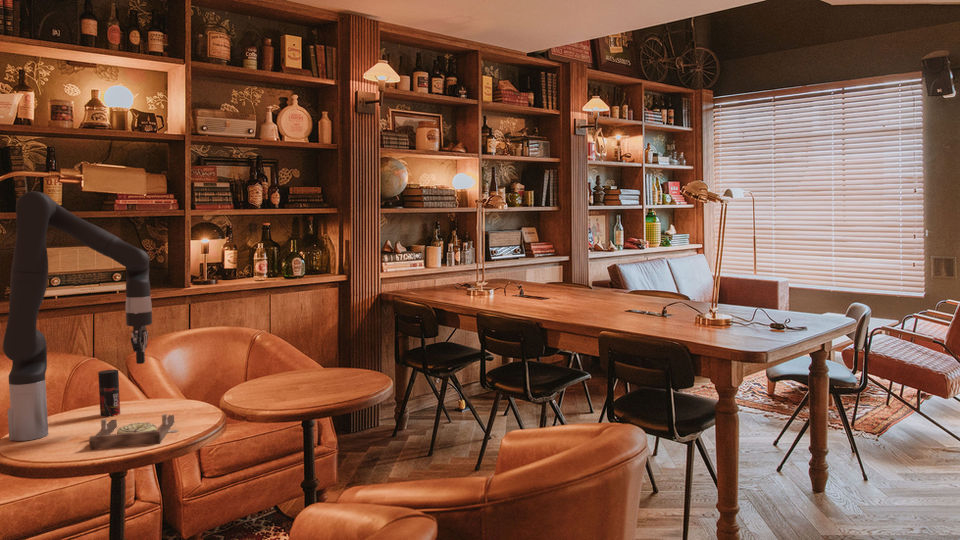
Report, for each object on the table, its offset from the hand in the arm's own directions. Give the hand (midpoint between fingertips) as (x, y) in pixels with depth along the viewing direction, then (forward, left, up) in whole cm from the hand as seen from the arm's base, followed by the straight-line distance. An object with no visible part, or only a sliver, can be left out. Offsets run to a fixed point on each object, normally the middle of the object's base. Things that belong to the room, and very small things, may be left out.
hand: (140, 363), depth 214 cm
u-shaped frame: (+1, -14, -20) cm, 24 cm away
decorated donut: (+2, -16, -20) cm, 26 cm away
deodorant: (-13, +14, -20) cm, 28 cm away
